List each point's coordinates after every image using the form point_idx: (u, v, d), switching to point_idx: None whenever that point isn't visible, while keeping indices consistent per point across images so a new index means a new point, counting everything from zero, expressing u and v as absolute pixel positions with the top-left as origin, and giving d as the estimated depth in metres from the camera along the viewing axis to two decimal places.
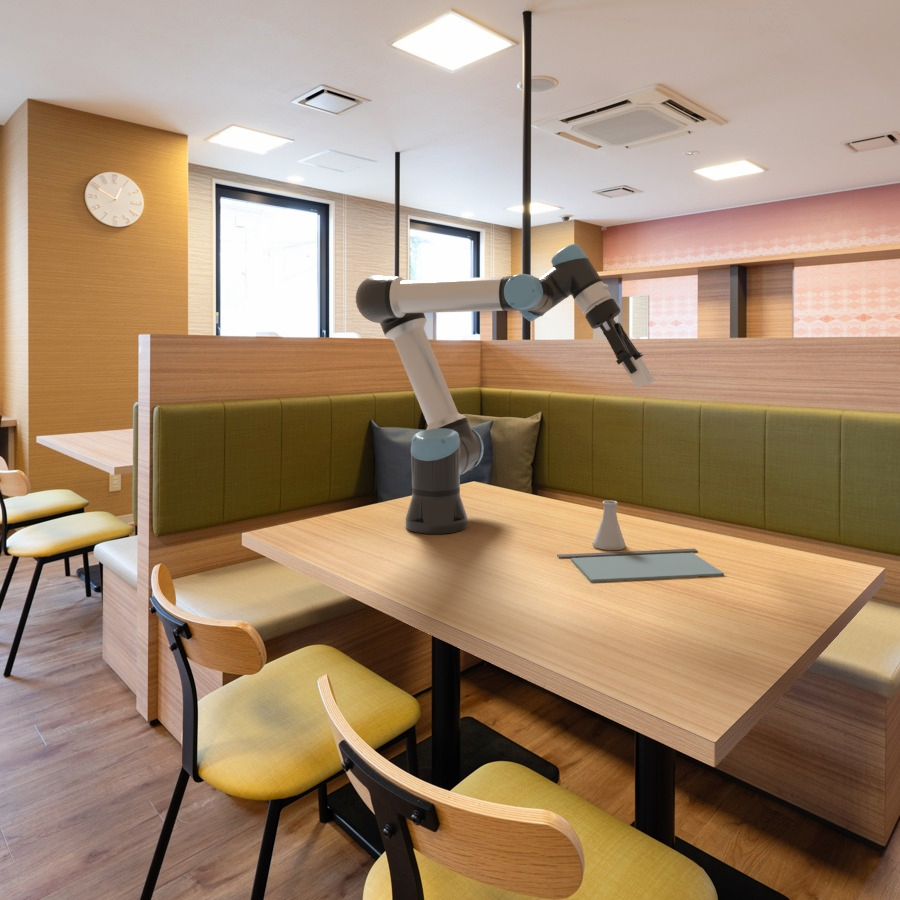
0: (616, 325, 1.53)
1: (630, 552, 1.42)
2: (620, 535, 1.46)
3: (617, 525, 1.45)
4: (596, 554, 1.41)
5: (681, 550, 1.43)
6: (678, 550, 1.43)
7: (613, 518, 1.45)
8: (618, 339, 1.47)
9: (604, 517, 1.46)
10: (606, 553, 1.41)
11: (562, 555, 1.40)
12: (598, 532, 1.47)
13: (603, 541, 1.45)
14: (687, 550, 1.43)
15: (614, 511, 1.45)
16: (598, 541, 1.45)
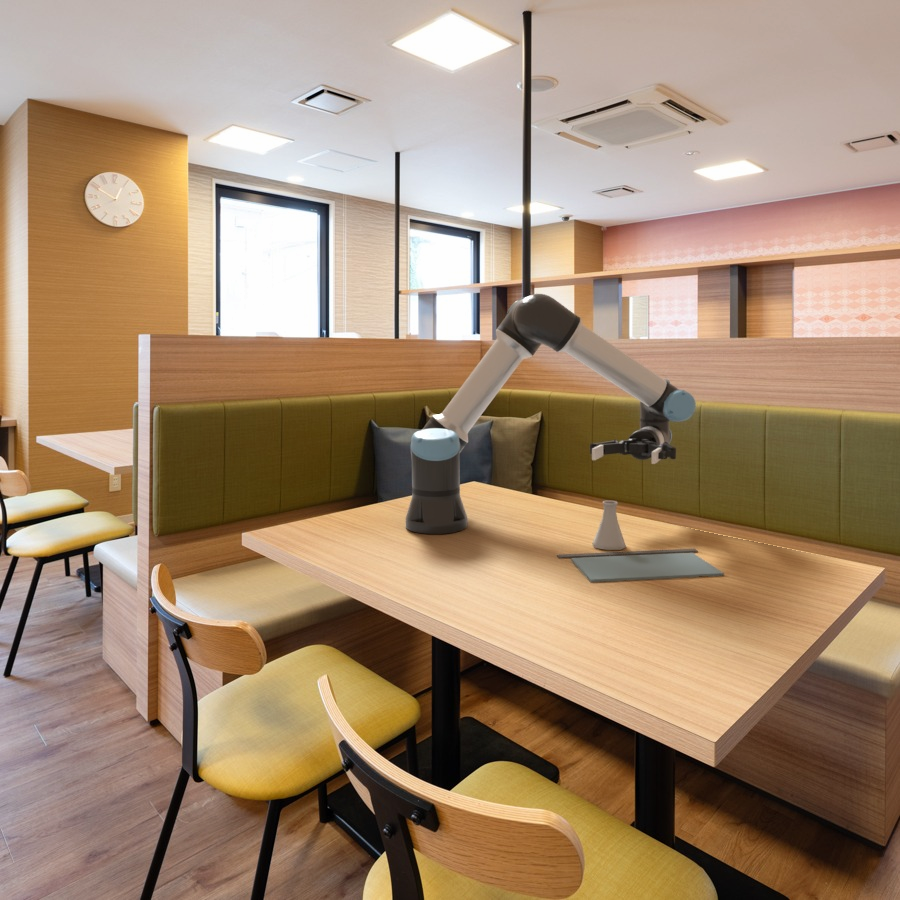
0: None
1: (630, 552, 1.42)
2: (620, 535, 1.46)
3: (617, 525, 1.45)
4: (596, 554, 1.41)
5: (681, 550, 1.43)
6: (678, 550, 1.43)
7: (613, 518, 1.45)
8: None
9: (604, 517, 1.46)
10: (606, 553, 1.41)
11: (562, 555, 1.40)
12: (598, 532, 1.47)
13: (603, 541, 1.45)
14: (687, 550, 1.43)
15: (614, 511, 1.45)
16: (598, 541, 1.45)
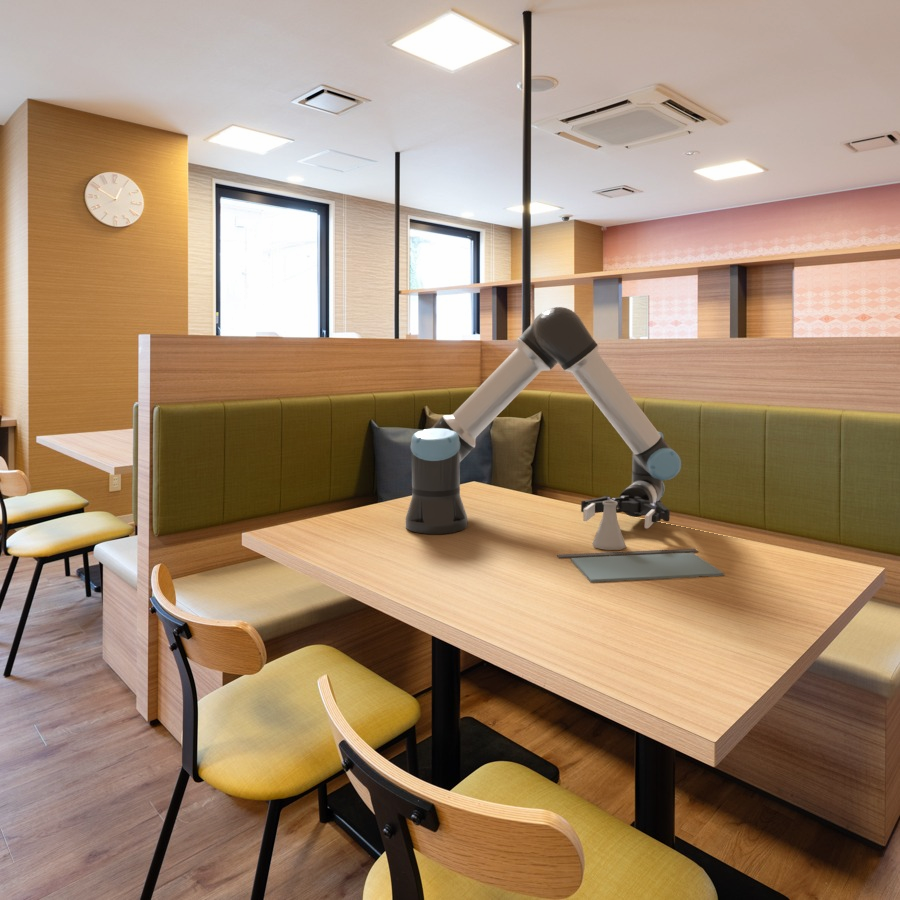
0: None
1: (630, 552, 1.42)
2: (620, 535, 1.46)
3: (617, 525, 1.45)
4: (596, 554, 1.41)
5: (681, 550, 1.43)
6: (678, 550, 1.43)
7: (613, 518, 1.45)
8: None
9: (604, 517, 1.46)
10: (606, 553, 1.41)
11: (562, 555, 1.40)
12: (598, 532, 1.47)
13: (603, 541, 1.45)
14: (687, 550, 1.43)
15: (614, 511, 1.45)
16: (598, 541, 1.45)
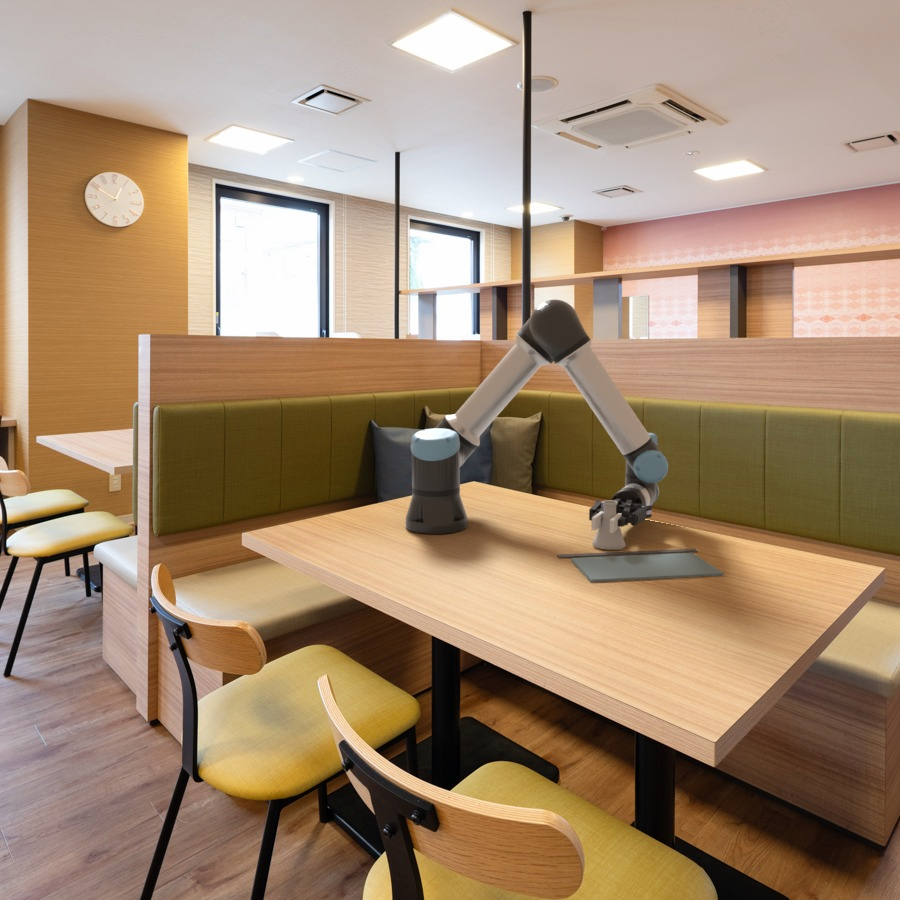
0: None
1: (630, 552, 1.42)
2: (620, 534, 1.46)
3: None
4: (596, 554, 1.41)
5: (681, 550, 1.43)
6: (678, 550, 1.43)
7: None
8: (641, 520, 1.49)
9: (604, 517, 1.46)
10: (606, 553, 1.41)
11: (562, 555, 1.40)
12: (598, 532, 1.47)
13: (603, 540, 1.45)
14: (687, 550, 1.43)
15: (614, 511, 1.45)
16: (598, 541, 1.45)
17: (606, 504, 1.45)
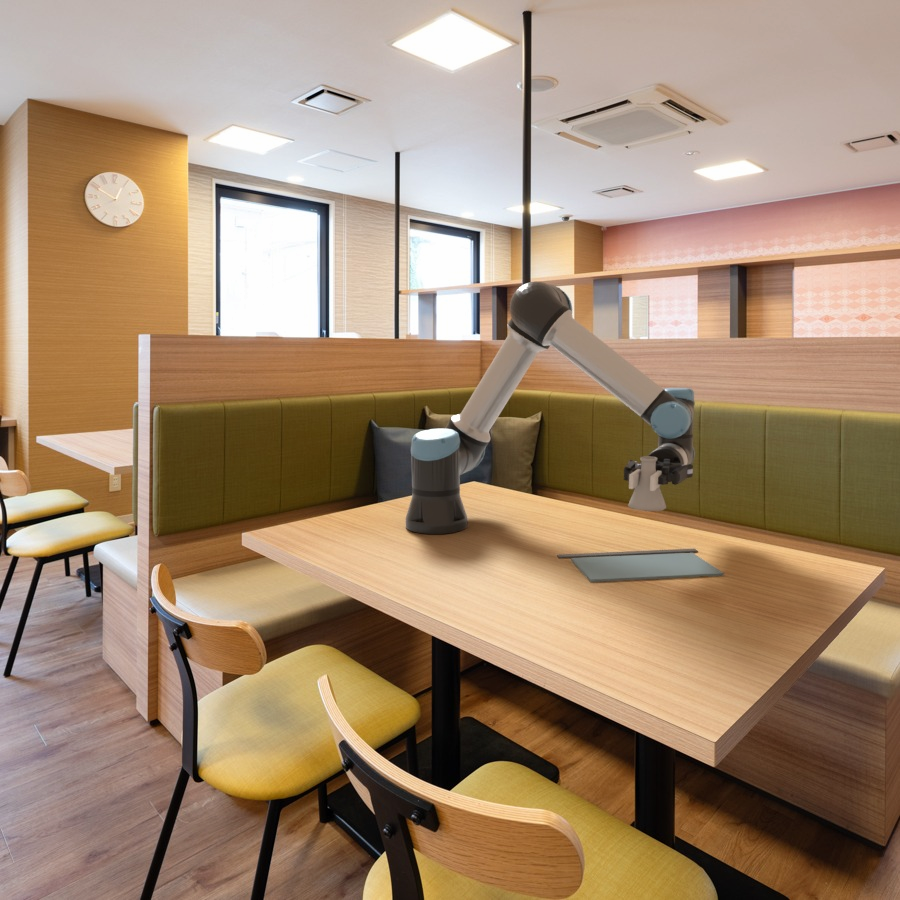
0: None
1: (630, 552, 1.42)
2: (660, 494, 1.30)
3: None
4: (596, 554, 1.41)
5: (681, 550, 1.43)
6: (678, 550, 1.43)
7: None
8: (682, 479, 1.33)
9: (642, 474, 1.30)
10: (606, 553, 1.41)
11: (562, 555, 1.40)
12: (635, 492, 1.31)
13: (641, 501, 1.29)
14: (687, 550, 1.43)
15: (653, 467, 1.29)
16: (635, 501, 1.29)
17: (645, 460, 1.29)
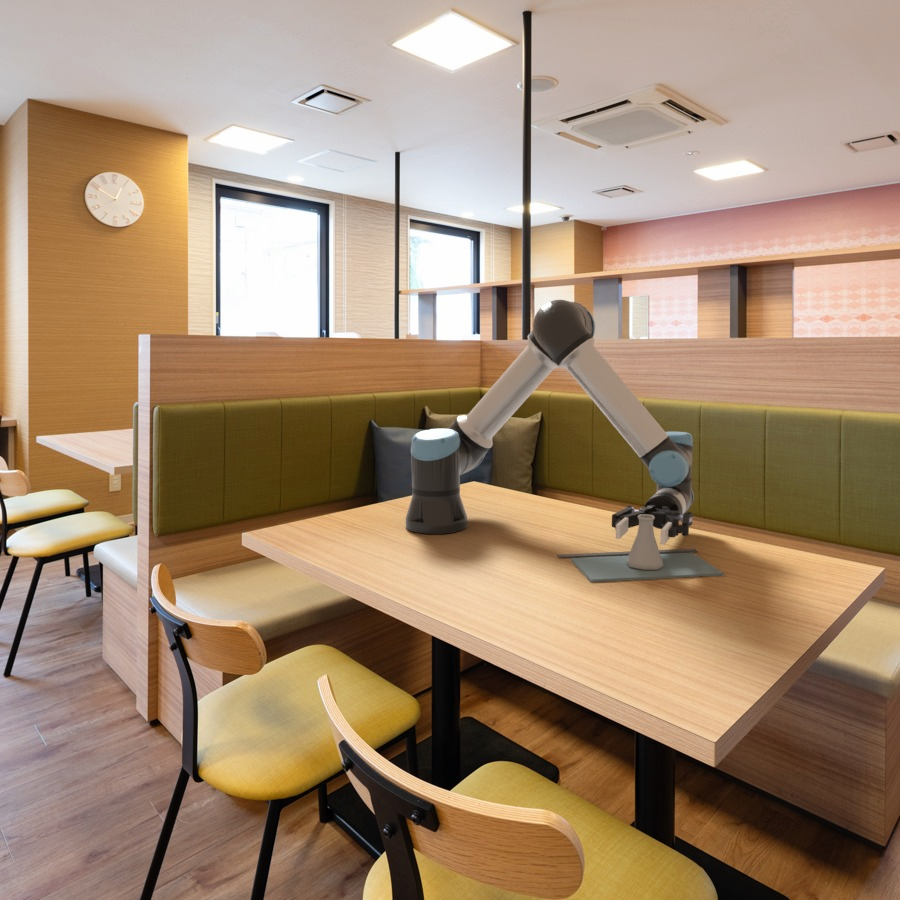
0: None
1: None
2: (657, 552, 1.31)
3: (654, 542, 1.31)
4: (596, 554, 1.41)
5: (681, 550, 1.43)
6: (678, 550, 1.43)
7: (650, 534, 1.30)
8: None
9: (640, 533, 1.31)
10: (606, 553, 1.41)
11: (562, 555, 1.40)
12: (633, 549, 1.32)
13: (639, 559, 1.30)
14: (687, 550, 1.43)
15: (651, 526, 1.30)
16: (633, 559, 1.31)
17: (642, 519, 1.30)
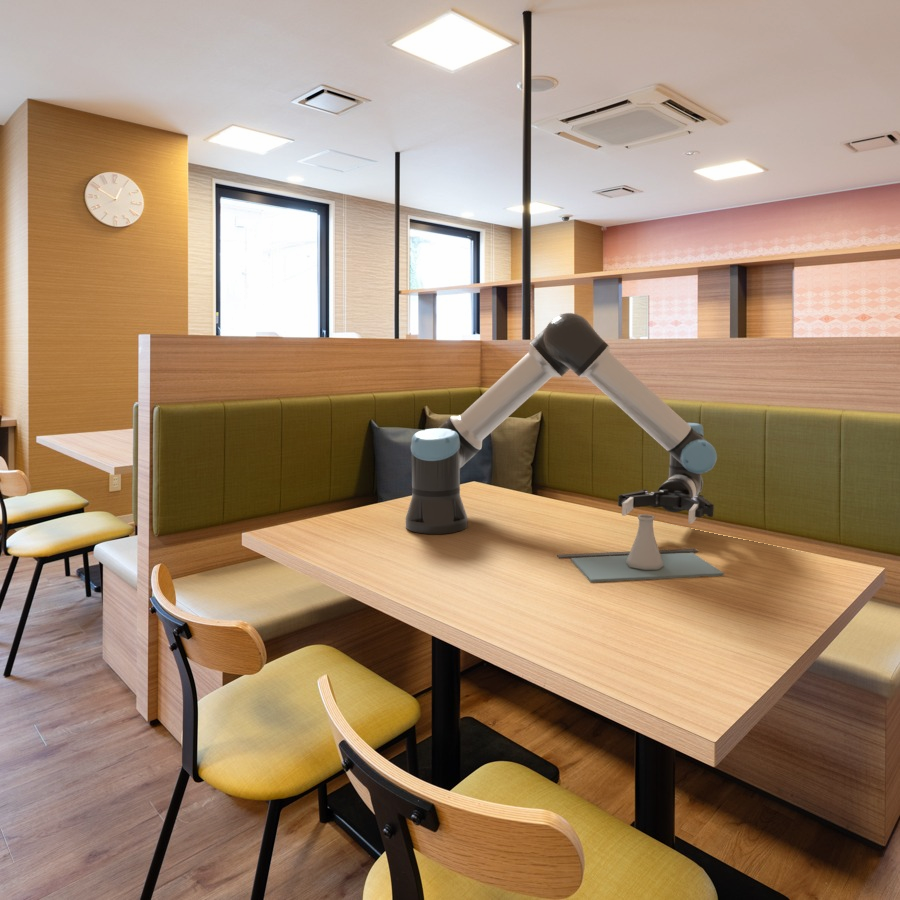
0: None
1: None
2: (657, 552, 1.31)
3: (654, 542, 1.31)
4: (596, 554, 1.41)
5: (681, 550, 1.43)
6: (678, 550, 1.43)
7: (650, 534, 1.30)
8: None
9: (640, 533, 1.31)
10: (606, 553, 1.41)
11: (562, 555, 1.40)
12: (633, 549, 1.32)
13: (639, 559, 1.30)
14: (687, 550, 1.43)
15: (651, 526, 1.30)
16: (633, 559, 1.31)
17: (642, 519, 1.30)
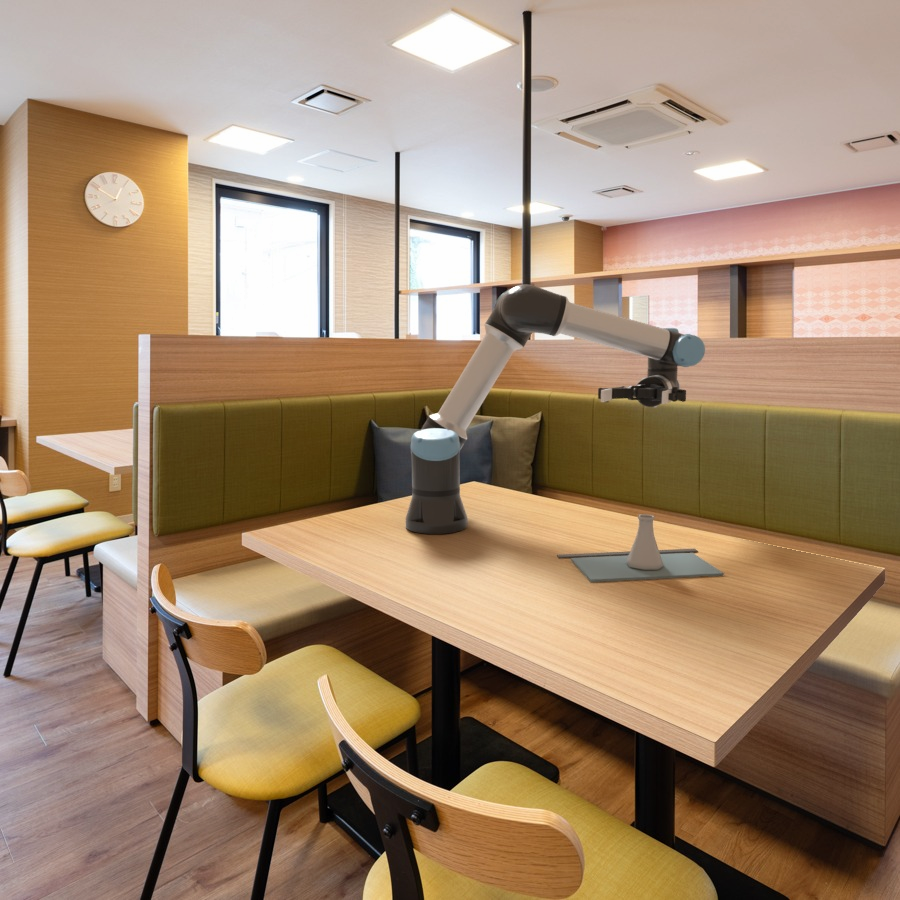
0: None
1: None
2: (657, 552, 1.31)
3: (654, 542, 1.31)
4: (596, 554, 1.41)
5: (681, 550, 1.43)
6: (678, 550, 1.43)
7: (650, 534, 1.30)
8: None
9: (640, 533, 1.31)
10: (606, 553, 1.41)
11: (562, 555, 1.40)
12: (633, 549, 1.32)
13: (639, 559, 1.30)
14: (687, 550, 1.43)
15: (651, 526, 1.30)
16: (633, 559, 1.31)
17: (642, 519, 1.30)
